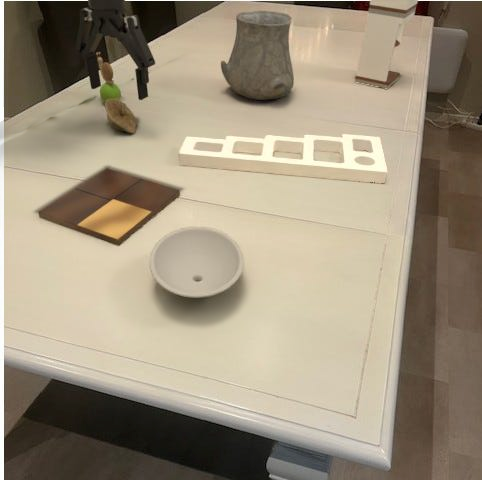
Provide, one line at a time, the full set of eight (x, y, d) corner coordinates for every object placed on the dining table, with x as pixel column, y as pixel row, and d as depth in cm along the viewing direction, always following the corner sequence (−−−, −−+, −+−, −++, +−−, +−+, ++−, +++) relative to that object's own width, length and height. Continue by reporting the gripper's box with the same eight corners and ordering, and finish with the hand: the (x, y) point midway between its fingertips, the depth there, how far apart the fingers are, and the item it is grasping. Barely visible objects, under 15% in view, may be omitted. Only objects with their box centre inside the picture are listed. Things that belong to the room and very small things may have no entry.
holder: (178, 165, 106) (178, 153, 104) (194, 131, 119) (193, 121, 117) (384, 183, 104) (387, 172, 102) (377, 147, 117) (379, 137, 115)
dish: (155, 250, 83) (153, 226, 79) (238, 249, 84) (239, 225, 81) (148, 322, 70) (145, 297, 67) (246, 320, 71) (248, 295, 68)
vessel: (242, 113, 129) (245, 29, 115) (211, 86, 144) (211, 9, 130) (312, 104, 136) (323, 24, 122) (276, 79, 151) (282, 5, 137)
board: (39, 217, 89) (37, 211, 88) (107, 173, 102) (106, 167, 101) (118, 245, 84) (117, 239, 83) (180, 195, 97) (179, 189, 96)
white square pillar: (387, 89, 148) (421, -52, 124) (354, 82, 151) (381, -57, 127) (398, 79, 155) (431, -56, 131) (366, 73, 159) (393, -60, 135)
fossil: (107, 114, 111) (107, 89, 116) (96, 127, 113) (97, 102, 118) (139, 135, 116) (137, 111, 122) (128, 147, 119) (127, 123, 124)
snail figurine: (113, 97, 134) (106, 50, 126) (125, 104, 131) (120, 56, 122) (95, 101, 131) (88, 53, 123) (108, 108, 128) (101, 60, 120)
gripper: (165, -11, 97) (173, 97, 112) (69, -25, 105) (87, 78, 119) (144, -5, 92) (154, 108, 107) (44, -19, 100) (66, 87, 114)
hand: (119, 92), depth 113 cm, fingers open, 13 cm apart
